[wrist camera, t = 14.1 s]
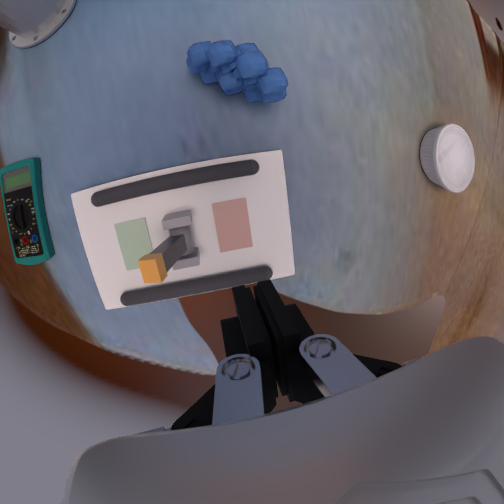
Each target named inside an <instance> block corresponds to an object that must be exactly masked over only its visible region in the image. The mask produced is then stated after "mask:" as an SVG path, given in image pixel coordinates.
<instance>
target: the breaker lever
mask: <svg viewBox="0 0 504 504" xmlns="http://www.w3.org/2000/svg"><path fill="white" fill-rule="evenodd" d="M168 230H169V234H170V236H169V237H168V238H167V239H166V240H165V241H163V242H162V243H161V244H160V245H159V246H158V247H156V248H155V249H154V250H153V251H152V252H151V253H150V254H146V255H144V256H142V257H141V258H140V259H139V260H138V264H139V267H140V271H141V274H142V278H143V281H144V283H162V282H163V281H164V279H165V278H166V277H167V276H168V275H167V272H168V271H169V270H170V269H171V268H172V266H173V265H174V264H175V263H176V262H177V261H178V260H179V258H180V257H181V256H186V255H189V254H191V253H193V252H194V251H195V249H194V244H193V239H192V234H191V229H190V225H188V226H183V227H178V228H173V229H168Z"/></svg>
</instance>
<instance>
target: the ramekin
mask: <svg viewBox="0 0 504 504" xmlns="http://www.w3.org/2000/svg"><path fill="white" fill-rule="evenodd" d="M420 160H421V165H422V168H423V170H424V172H425V174H426V175H427V177H428V178H429V179H430V180H431V181H432V182H434V183H435V184H438V185H440V186H442V187H444V188H445V189H446V190H448V191H450V192H454V193H459V192H462V191H463V190H465V189H466V187H467V186H468V185H469V183H470V181H471V179H472V177H473V173H474V163H475V159H474V151H473V147H472V143H471V141H470V139H469V137H468V135H467V133H466V132H465V131H464V130H463V129H462V128H461V127H460V126H458V125H456V124H446V125H443V126H442V127H438V128H434V129H432V130H430V131H429V132H427V133H426V135H425V136H424V138H423V140H422V143H421V147H420Z"/></svg>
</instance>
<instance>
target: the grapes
mask: <svg viewBox="0 0 504 504" xmlns="http://www.w3.org/2000/svg"><path fill="white" fill-rule="evenodd" d="M187 54H188V58H187V61H186V62H187V65H188V68H189V70H190V71H191V73H198V72H200V75H201V78H202V80H203V82H204V83H205V84H210V83H215V82H219V84H220V85H221V87H222V89H223V90H224V91H225V93H226V95H230V94H236V93H239V92H241V91H244V95H245V97H246V98H247V100H248V102H257V101H261V100H263V102H264V103H271V102H277V101H280V100H282V99H284V98H285V96H286V88H287V86H288V80H287V77H286V76H285V74H284V72H283V71H282V70H281V68H269V67H268V62H267V60H266V58H265V56H264V55H263V54H262V52H261V51H259V49H258V47H257V46H256V45H255V44H254V43H244V44H239V45H238V46H236V47H235V45H234V44H233V42H232V41H231V40H226V41H217V42H213V43H211V42H210V41H207V42H198V43H195V44H193V45H192V46H190V47H189V49H188V53H187Z"/></svg>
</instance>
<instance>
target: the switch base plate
mask: <svg viewBox="0 0 504 504" xmlns="http://www.w3.org/2000/svg"><path fill="white" fill-rule="evenodd" d="M249 159H253V160H255V161H257V162H258V164H259V171H258V172H257V173H256V174H254V175H249V176H243V177H237V178H231V179H225V180H219V181H213V182H208V183H202V184H197V185H192V186H187V187H182V188H177V189H172V190H167V191H162V192H158V193H153V194H149V195H144V196H140V197H136V198H132V199H128V200H124V201H120V202H116V203H112V204H108V205H104V206H100V207H96V206H94V205H93V204H92V203H91V196H92V195H93V193H95V192H97V191H101V190H104V189H108V188H112V187H115V186H119V185H123V184H127V183H131V182H135V181H139V180H143V179H147V178H152V177H156V176H161V175H165V174H170V173H175V172H180V171H185V170H190V169H195V168H200V167H206V166H211V165H217V164H223V163H229V162H236V161H242V160H249ZM71 198H72V202H73V206H74V211H75V215H76V219H77V223H78V226H79V230H80V234H81V237H82V241H83V244H84V248H85V251H86V254H87V258H88V261H89V264H90V267H91V270H92V273H93V276H94V279H95V282H96V284H97V287H98V290H99V293H100V295H101V298H102V301H103V303H104V306H105V308H106V310H108V309H114V308H121V307H127V306H124V305H123V304H122V303H121V301H120V297H121V295H122V294H123V293H124V292H129V291H135V290H140V289H146V288H152V287H157V286H162V285H168V284H173V283H179V282H184V281H189V280H195V279H200V278H205V277H211V276H216V275H221V274H226V273H231V272H236V271H242V270H247V269H252V268H257V267H262V266H268V267H270V268H271V269H272V271H273V275H272V277H271V278H270V280H272V279H276V278H281V277H286V276H291V275H295V270H294V258H293V247H292V236H291V226H290V216H289V207H288V198H287V189H286V180H285V172H284V164H283V156H282V150H274V151H266V152H258V153H251V154H243V155H237V156H230V157H224V158H218V159H212V160H206V161H200V162H195V163H190V164H185V165H180V166H175V167H170V168H165V169H161V170H156V171H152V172H148V173H143V174H139V175H135V176H131V177H127V178H123V179H120V180H116V181H112V182H108V183H105V184H101V185H98V186H94V187H91V188H88V189H84V190H81V191H78V192H75V193H72V194H71ZM188 225H190V229H191V234H192V239H193V244H194V249H195V251H194V252H193V253H191V254H189V255H186V256H181V257H180V258H179V260H178V261H177V262H176V263H175V264H174V265H173V266H172V268H171V269H170V270H169V271H168V272H167V275H168V276H167V277H166V278H165V279H164V281H163V282H162V283H144V281H143V278H142V274H141V271H140V267H139V264H138V260H139V259H140V258H141V257H142V256H144V255H146V254H150V253H151V252H152V251H153V250H154V249H155V248H156V247H158V246H159V245H160V244H161V243H162V242H163V241H165V240H166V239H167V238H168V237H169V236H170V234H169V230H168V229H173V228H178V227H183V226H188ZM256 283H257V282H256ZM251 284H252V283H251ZM246 285H247V284H246ZM231 288H232V287H231ZM226 289H227V288H226ZM221 290H222V289H221ZM210 292H211V291H210ZM205 293H206V292H205ZM200 294H201V293H200ZM194 295H195V294H194ZM189 296H190V295H189ZM183 297H185V296H183ZM178 298H179V297H178ZM172 299H174V298H172ZM167 300H168V299H167ZM161 301H162V300H161ZM155 302H157V301H155ZM149 303H151V302H149ZM144 304H145V303H144ZM138 305H139V304H138ZM132 306H133V305H132Z"/></svg>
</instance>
